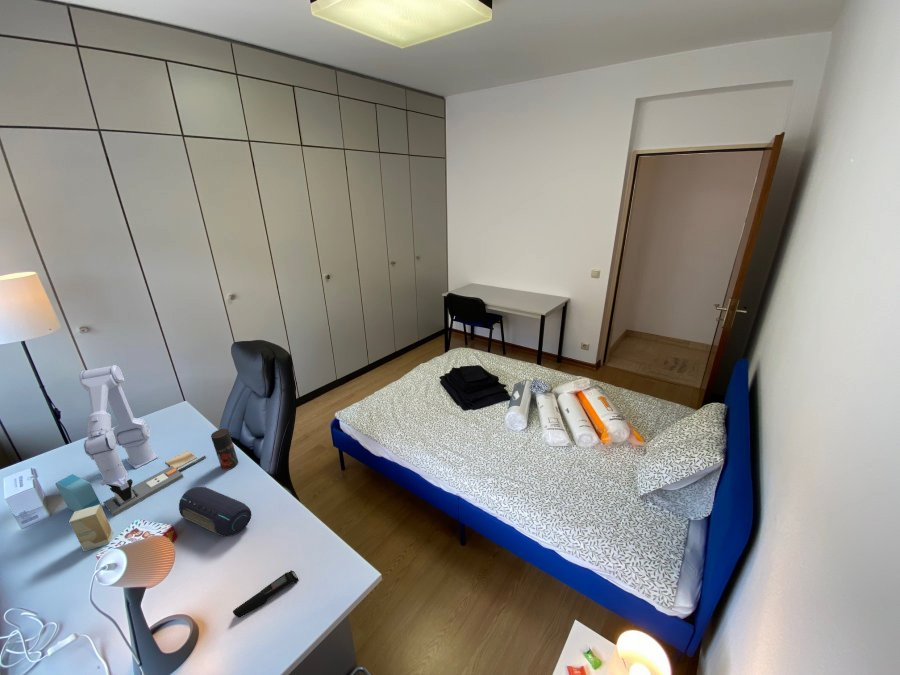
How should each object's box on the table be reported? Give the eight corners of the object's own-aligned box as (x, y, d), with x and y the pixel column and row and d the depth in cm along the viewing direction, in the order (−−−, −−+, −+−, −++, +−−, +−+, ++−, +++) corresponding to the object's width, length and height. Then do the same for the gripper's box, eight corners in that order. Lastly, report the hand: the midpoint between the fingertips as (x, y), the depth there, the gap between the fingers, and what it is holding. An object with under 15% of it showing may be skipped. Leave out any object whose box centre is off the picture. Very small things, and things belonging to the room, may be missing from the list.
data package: (104, 509, 124) (90, 482, 120) (87, 519, 120) (72, 492, 116) (85, 499, 129) (70, 472, 124) (68, 508, 125) (53, 481, 120)
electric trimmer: (233, 613, 92) (230, 605, 91) (294, 572, 102) (292, 564, 101) (237, 625, 90) (234, 617, 89) (299, 581, 99) (297, 574, 98)
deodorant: (241, 459, 146) (232, 429, 140) (232, 470, 140) (221, 438, 135) (228, 459, 146) (218, 428, 141) (217, 469, 141) (207, 438, 135)
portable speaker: (178, 521, 119) (168, 498, 115) (207, 499, 127) (199, 477, 123) (230, 547, 109) (222, 523, 106) (258, 522, 118) (251, 498, 114)
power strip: (104, 505, 126) (102, 500, 125) (200, 453, 150) (198, 449, 149) (114, 516, 121) (111, 511, 121) (211, 461, 145) (209, 457, 145)
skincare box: (83, 552, 109) (66, 522, 105) (89, 540, 113) (72, 511, 108) (111, 543, 112) (95, 513, 107) (115, 532, 115) (100, 503, 111)
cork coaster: (165, 462, 145) (165, 461, 145) (187, 451, 152) (187, 450, 152) (174, 469, 141) (174, 469, 141) (196, 457, 148) (196, 457, 147)
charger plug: (118, 502, 127) (111, 489, 125) (132, 494, 130) (125, 481, 128) (122, 507, 125) (115, 493, 123) (136, 499, 128) (130, 486, 126)
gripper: (87, 465, 122) (103, 495, 127) (102, 481, 115) (118, 513, 120) (114, 453, 128) (127, 482, 133) (130, 468, 120) (144, 499, 125)
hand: (125, 496), depth 127 cm, fingers closed on charger plug, 4 cm apart
